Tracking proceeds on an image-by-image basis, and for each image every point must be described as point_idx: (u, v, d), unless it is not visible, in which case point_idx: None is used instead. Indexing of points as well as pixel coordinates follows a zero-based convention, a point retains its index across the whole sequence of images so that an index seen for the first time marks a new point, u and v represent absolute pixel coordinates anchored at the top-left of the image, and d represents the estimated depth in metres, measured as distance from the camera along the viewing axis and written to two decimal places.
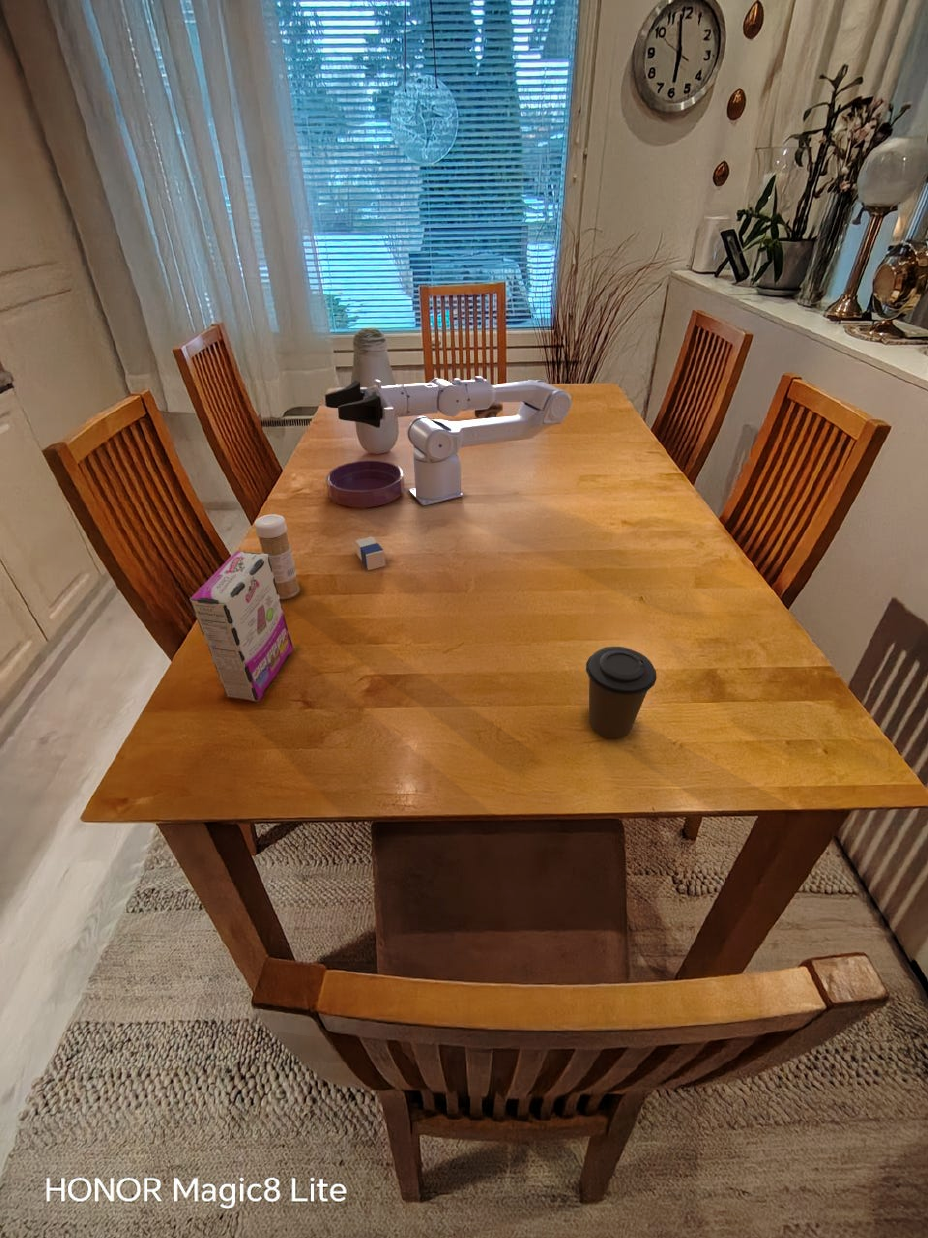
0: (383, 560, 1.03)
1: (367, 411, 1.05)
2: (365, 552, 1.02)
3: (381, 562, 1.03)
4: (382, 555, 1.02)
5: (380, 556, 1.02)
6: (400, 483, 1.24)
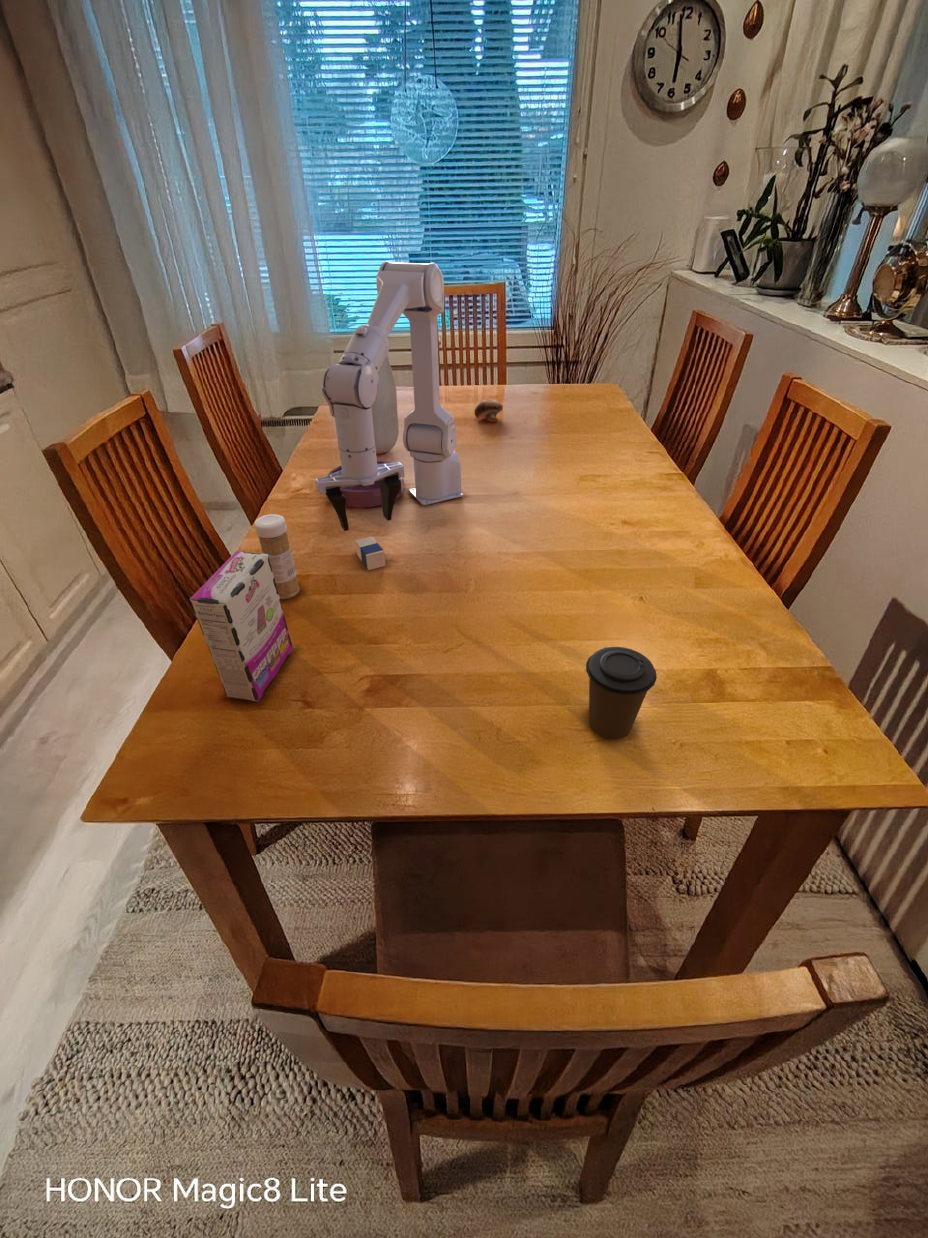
0: (383, 560, 1.03)
1: None
2: (365, 552, 1.02)
3: (381, 562, 1.03)
4: (382, 555, 1.02)
5: (380, 556, 1.02)
6: None
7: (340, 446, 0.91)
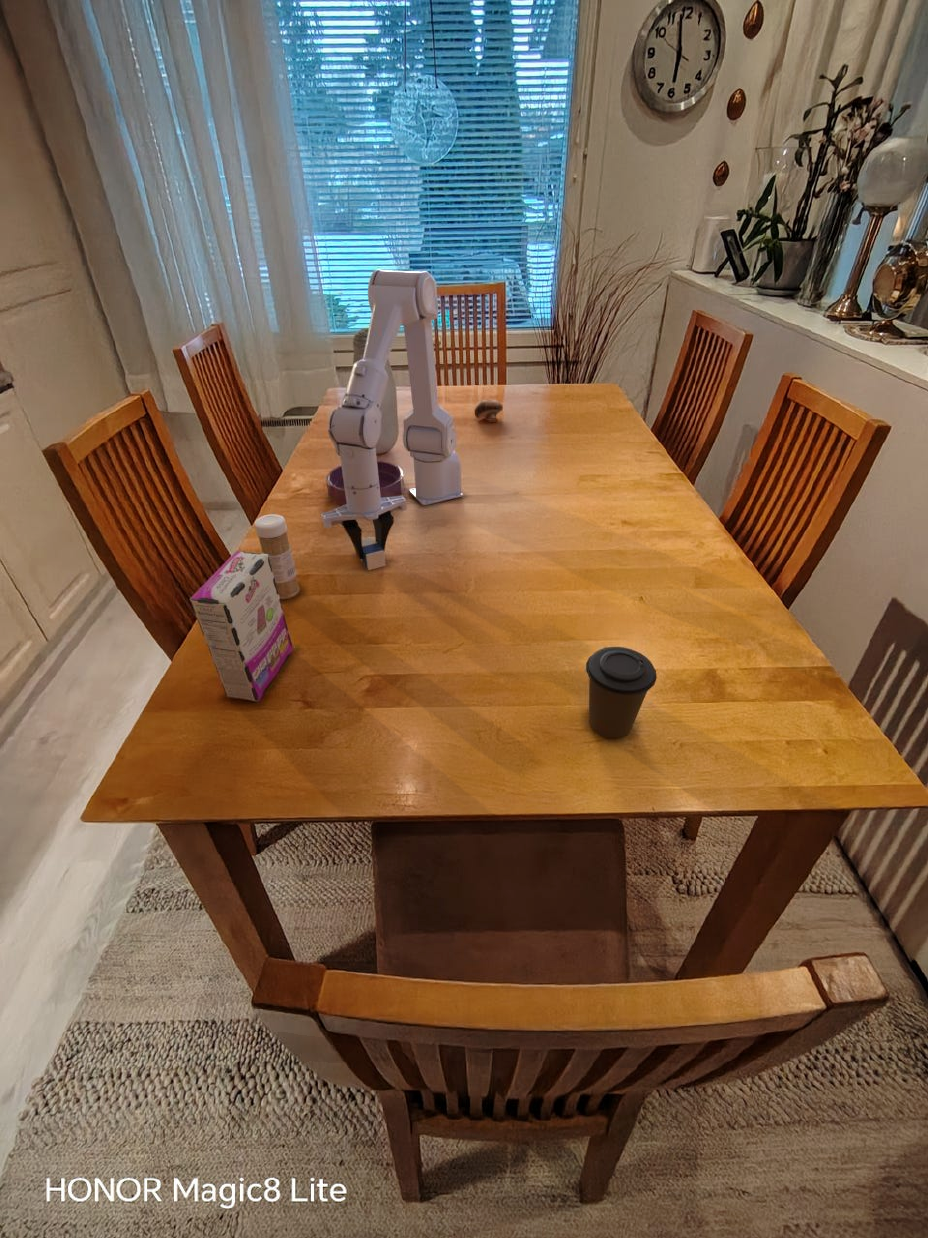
0: (383, 560, 1.03)
1: None
2: (365, 552, 1.02)
3: (381, 562, 1.03)
4: (382, 555, 1.02)
5: (381, 556, 1.02)
6: (400, 483, 1.24)
7: (345, 483, 0.95)
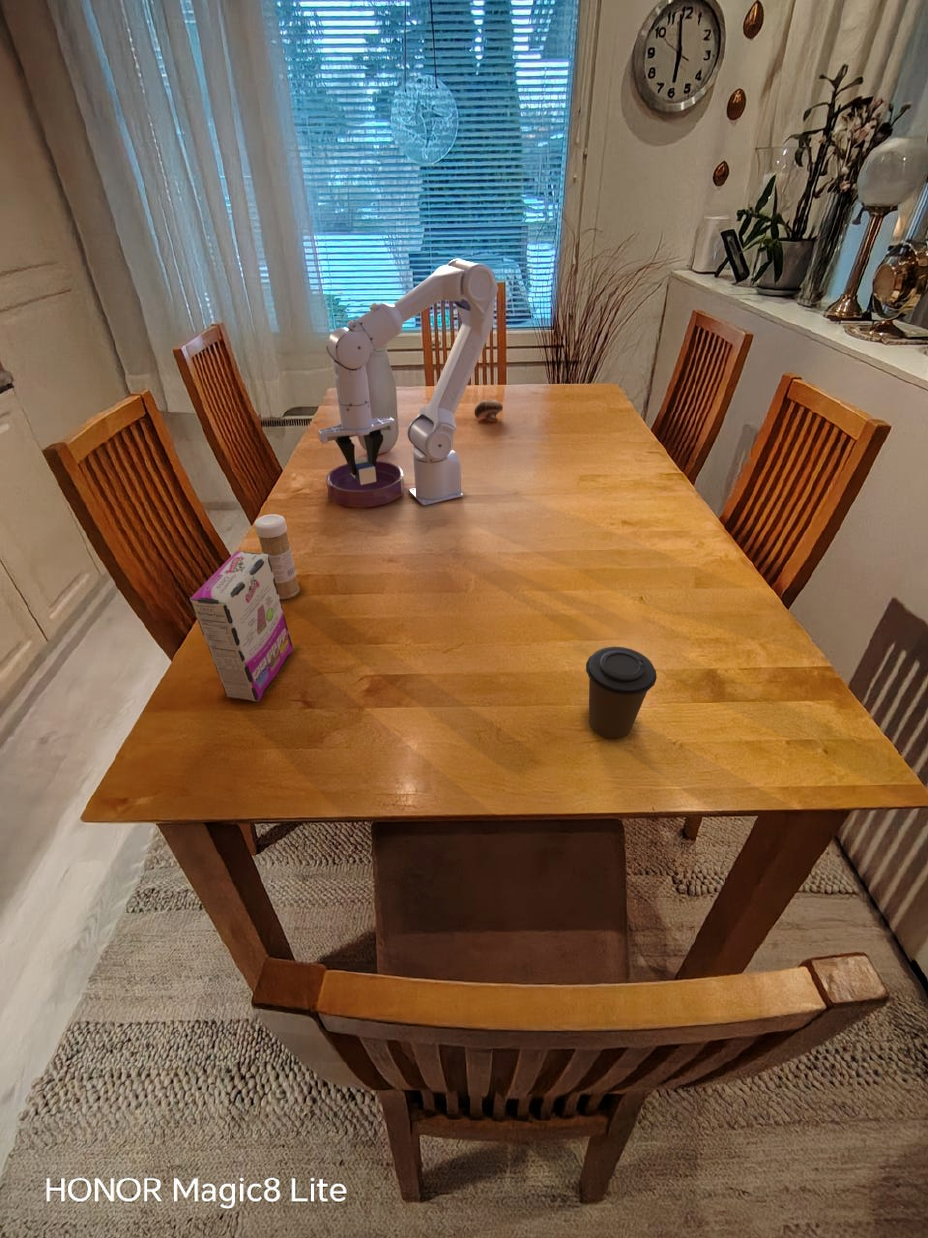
0: (374, 476, 1.15)
1: None
2: (358, 468, 1.13)
3: (372, 478, 1.15)
4: (373, 471, 1.14)
5: (372, 472, 1.14)
6: (400, 483, 1.24)
7: None
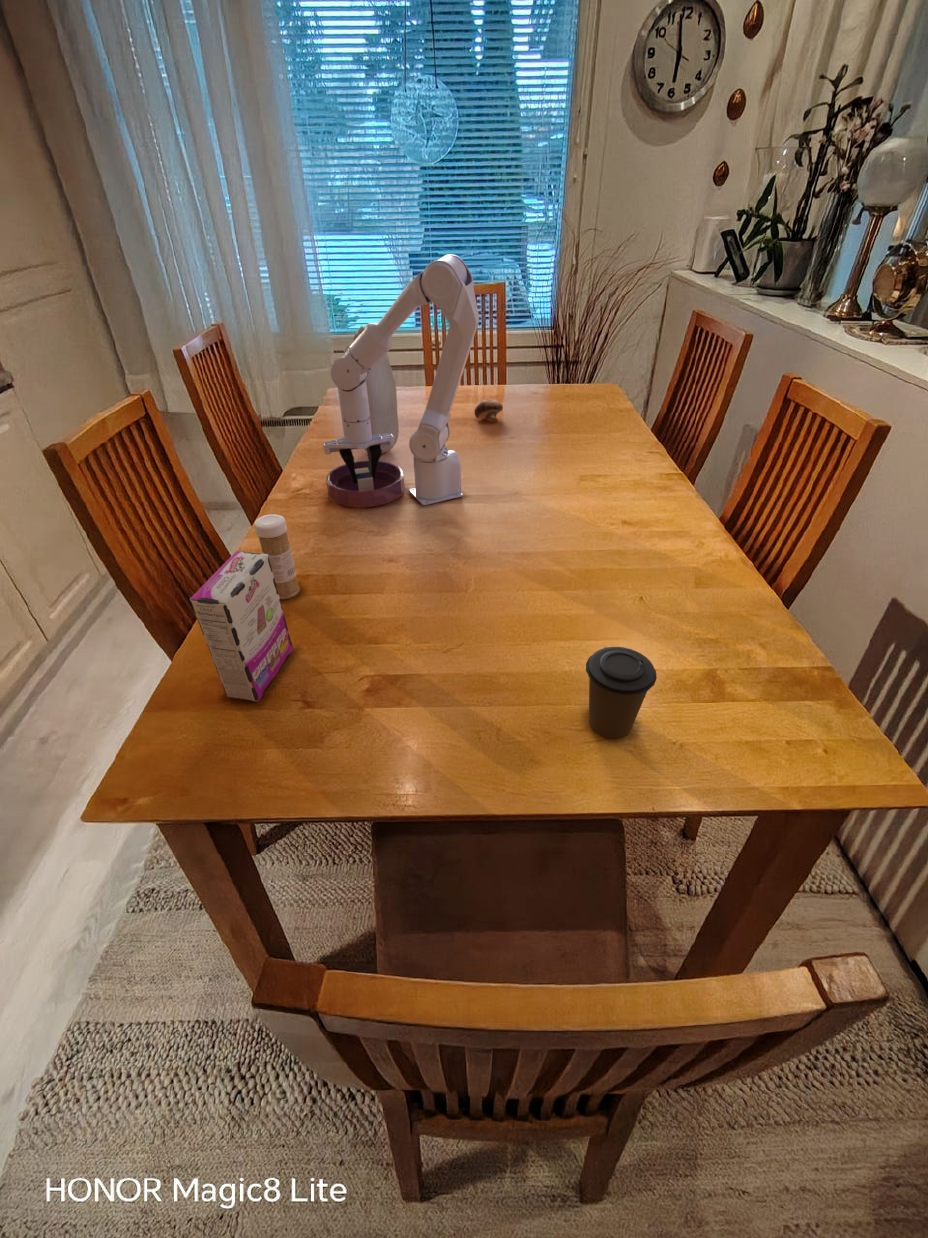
0: (372, 485, 1.26)
1: None
2: (357, 477, 1.25)
3: (370, 487, 1.26)
4: (371, 481, 1.25)
5: (370, 482, 1.25)
6: (400, 483, 1.24)
7: None
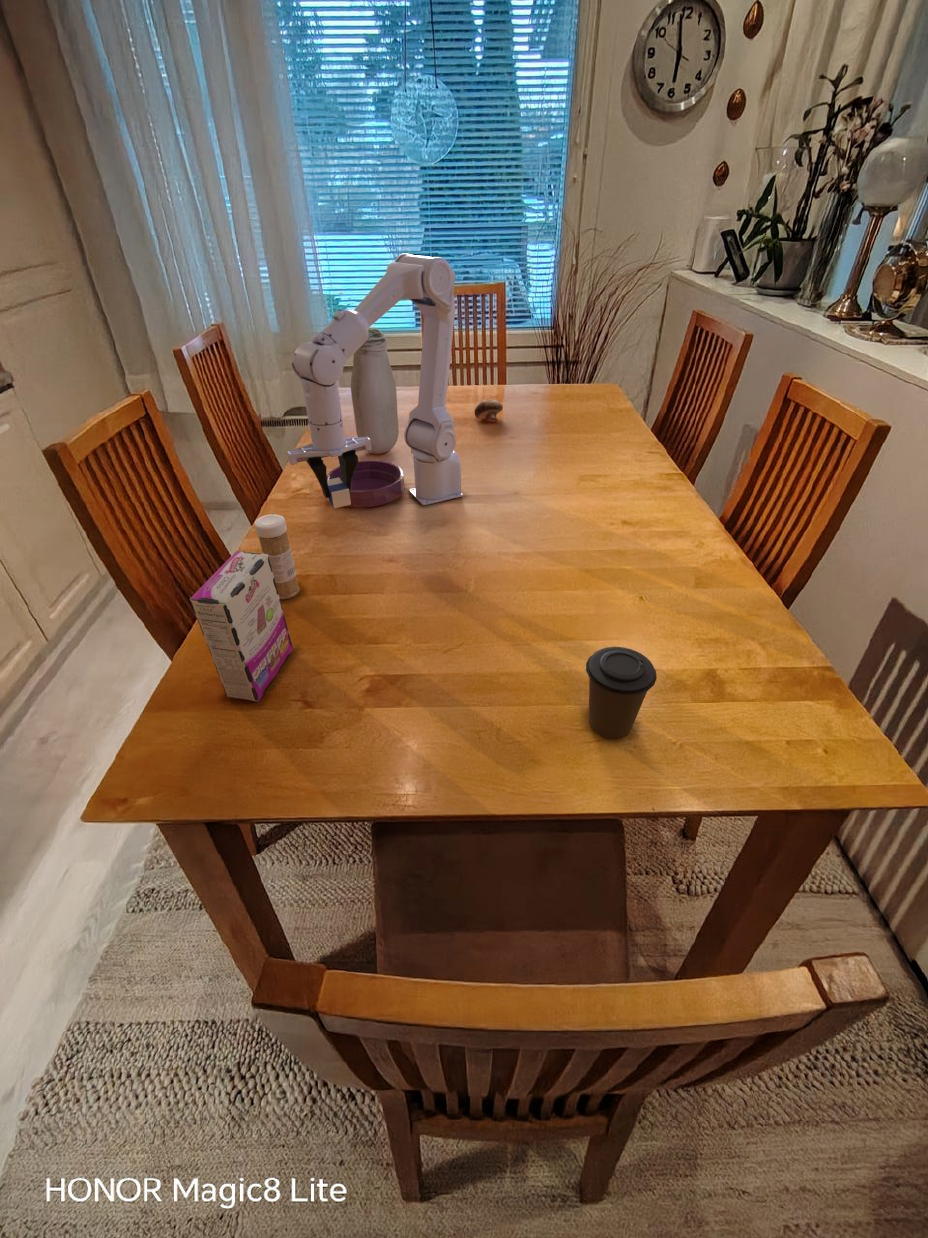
0: (348, 498, 1.07)
1: None
2: (331, 490, 1.06)
3: (346, 500, 1.07)
4: (347, 493, 1.06)
5: (346, 494, 1.06)
6: (400, 483, 1.24)
7: (308, 417, 0.99)
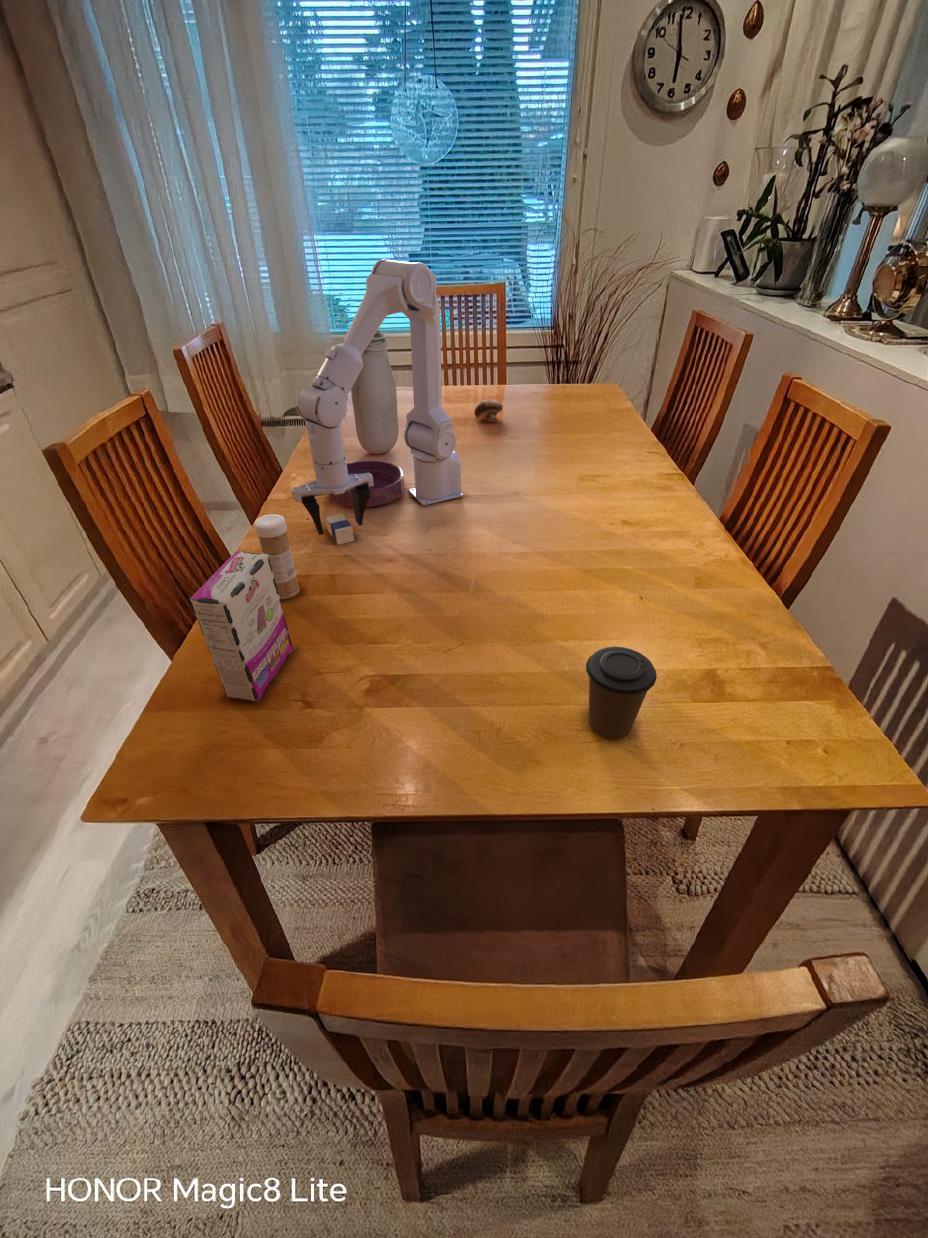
0: (352, 535, 1.10)
1: None
2: (334, 527, 1.09)
3: (350, 537, 1.10)
4: (350, 530, 1.09)
5: (349, 531, 1.09)
6: (400, 483, 1.24)
7: (312, 457, 1.02)
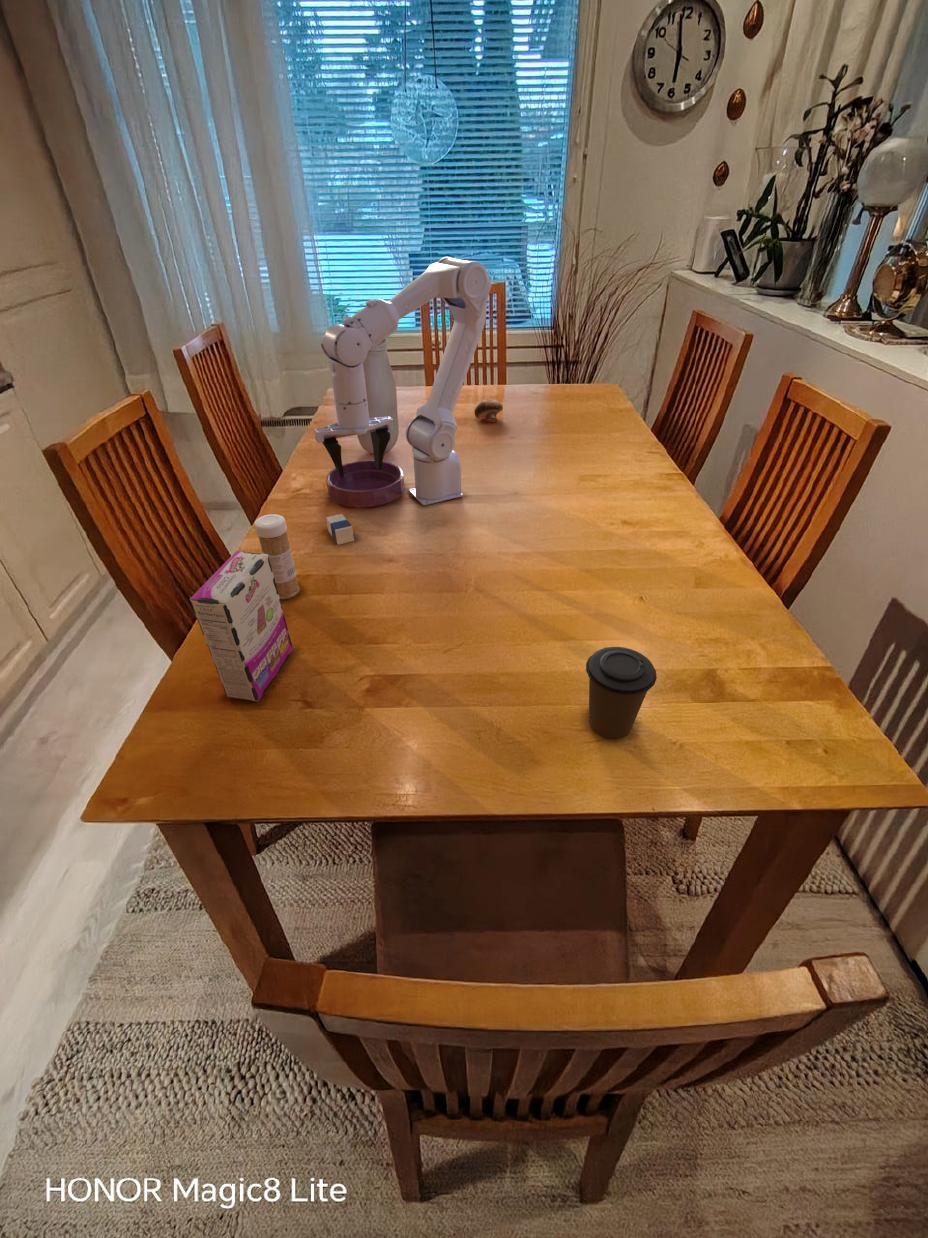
0: (352, 535, 1.10)
1: None
2: (334, 527, 1.09)
3: (350, 537, 1.10)
4: (350, 530, 1.09)
5: (349, 531, 1.09)
6: (400, 483, 1.24)
7: None
